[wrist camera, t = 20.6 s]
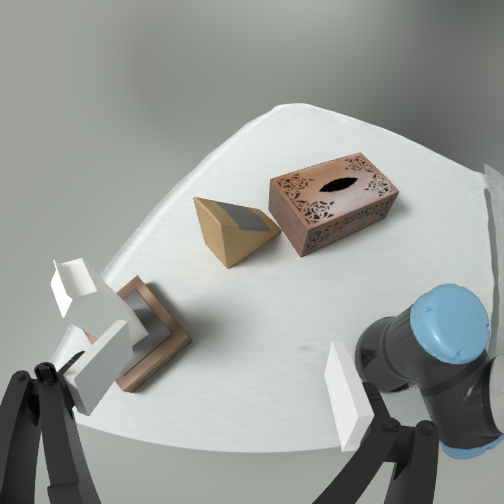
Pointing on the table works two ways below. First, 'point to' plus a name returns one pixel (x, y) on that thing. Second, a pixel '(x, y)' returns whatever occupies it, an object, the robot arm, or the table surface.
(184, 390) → the table surface
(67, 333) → the table surface
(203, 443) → the table surface
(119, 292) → the walnut plinth
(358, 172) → the tissue box cover
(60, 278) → the milk
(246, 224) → the sandwich container
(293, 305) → the table surface
